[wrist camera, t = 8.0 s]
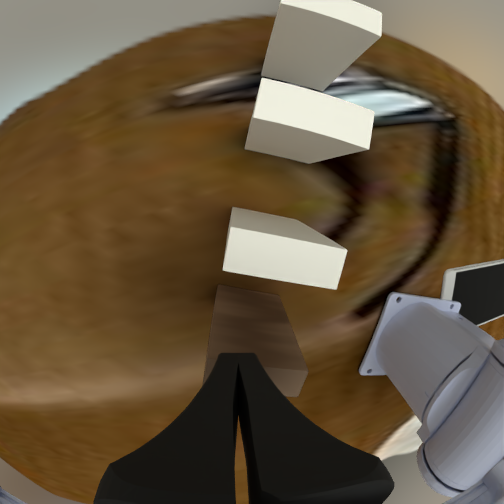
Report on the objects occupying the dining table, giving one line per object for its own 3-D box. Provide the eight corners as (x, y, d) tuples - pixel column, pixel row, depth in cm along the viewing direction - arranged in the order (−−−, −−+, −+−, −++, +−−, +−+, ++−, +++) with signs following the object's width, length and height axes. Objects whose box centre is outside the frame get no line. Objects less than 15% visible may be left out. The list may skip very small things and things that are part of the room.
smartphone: (510, 313, 23) (432, 343, 22) (507, 311, 24) (428, 340, 23) (522, 255, 21) (446, 270, 20) (518, 254, 22) (441, 268, 21)
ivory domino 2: (313, 141, 18) (374, 111, 9) (308, 163, 18) (368, 149, 9) (249, 126, 17) (261, 77, 9) (244, 149, 18) (253, 117, 9)
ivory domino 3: (296, 219, 19) (347, 250, 10) (291, 242, 19) (336, 289, 11) (232, 206, 18) (230, 226, 10) (228, 230, 19) (222, 270, 10)
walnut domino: (278, 295, 20) (308, 371, 11) (273, 314, 20) (297, 397, 12) (218, 284, 20) (207, 358, 11) (214, 304, 20) (202, 385, 11)
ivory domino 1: (325, 73, 17) (381, 12, 8) (322, 91, 17) (381, 36, 8) (265, 57, 16) (286, -20, 7) (260, 75, 16) (280, 3, 8)
